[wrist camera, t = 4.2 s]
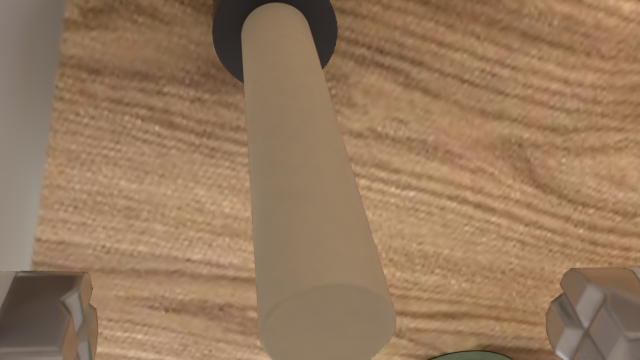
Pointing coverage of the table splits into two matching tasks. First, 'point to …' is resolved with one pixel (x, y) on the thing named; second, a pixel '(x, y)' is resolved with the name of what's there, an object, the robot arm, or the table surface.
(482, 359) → the jar
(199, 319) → the table surface
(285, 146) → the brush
